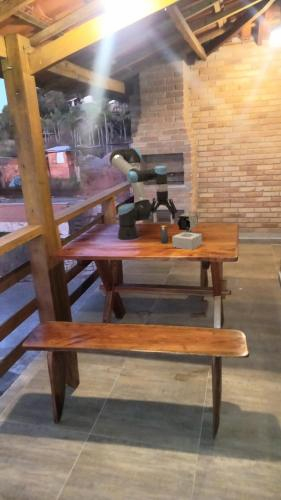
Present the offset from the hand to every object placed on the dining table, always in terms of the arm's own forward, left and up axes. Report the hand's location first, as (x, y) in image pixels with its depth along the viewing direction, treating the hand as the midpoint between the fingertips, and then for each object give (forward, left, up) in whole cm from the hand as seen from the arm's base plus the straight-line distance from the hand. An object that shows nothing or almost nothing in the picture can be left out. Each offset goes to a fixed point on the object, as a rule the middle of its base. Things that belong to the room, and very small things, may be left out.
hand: (163, 223), depth 251 cm
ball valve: (+7, +20, -14) cm, 26 cm away
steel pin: (0, 0, -14) cm, 14 cm away
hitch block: (+17, +1, -14) cm, 22 cm away
